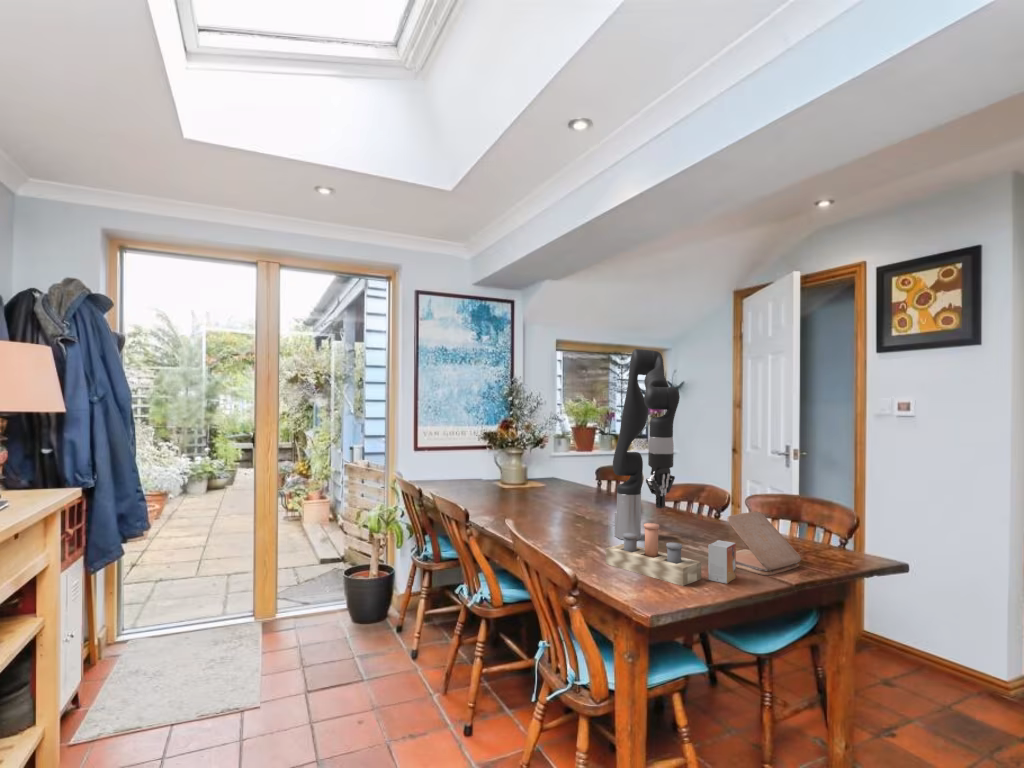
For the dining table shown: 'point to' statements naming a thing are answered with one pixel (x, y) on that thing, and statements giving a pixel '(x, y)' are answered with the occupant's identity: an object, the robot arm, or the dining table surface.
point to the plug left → (630, 542)
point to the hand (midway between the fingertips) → (660, 507)
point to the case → (762, 545)
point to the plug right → (674, 552)
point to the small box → (722, 561)
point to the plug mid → (651, 539)
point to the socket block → (654, 565)
